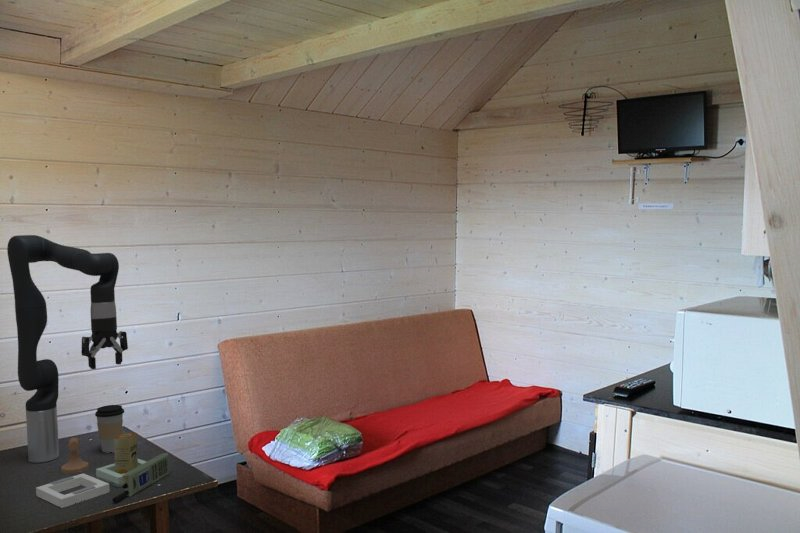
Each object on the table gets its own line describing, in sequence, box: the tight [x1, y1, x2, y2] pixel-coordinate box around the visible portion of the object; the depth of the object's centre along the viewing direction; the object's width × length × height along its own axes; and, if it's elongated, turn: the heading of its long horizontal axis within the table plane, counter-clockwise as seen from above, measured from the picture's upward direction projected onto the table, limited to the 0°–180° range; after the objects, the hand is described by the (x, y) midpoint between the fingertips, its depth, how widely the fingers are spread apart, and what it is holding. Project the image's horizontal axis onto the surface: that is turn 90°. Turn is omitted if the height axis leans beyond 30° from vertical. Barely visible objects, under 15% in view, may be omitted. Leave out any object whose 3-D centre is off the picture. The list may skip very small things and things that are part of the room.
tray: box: [95, 458, 147, 488], centre depth 215 cm, size 13×13×3 cm
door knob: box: [60, 437, 90, 475], centre depth 222 cm, size 8×10×8 cm
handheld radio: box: [111, 452, 170, 503], centre depth 205 cm, size 7×3×25 cm
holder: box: [35, 473, 111, 509], centre depth 201 cm, size 15×14×3 cm
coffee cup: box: [94, 404, 125, 454], centre depth 240 cm, size 9×9×15 cm
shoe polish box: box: [113, 432, 139, 474], centre depth 214 cm, size 5×5×12 cm
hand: (105, 366), depth 220 cm, fingers open, 8 cm apart
